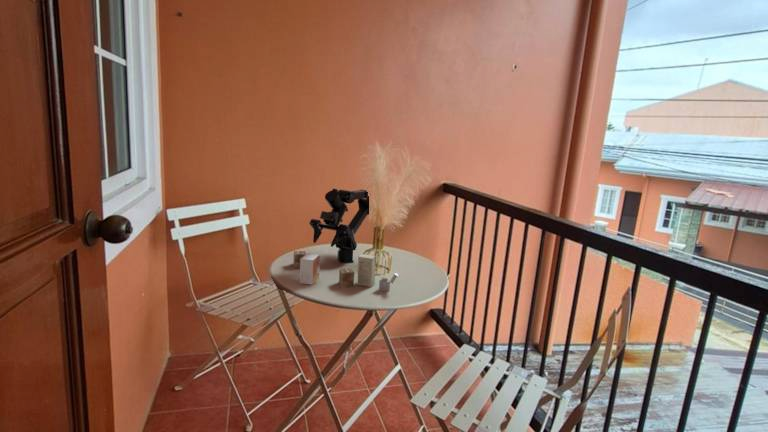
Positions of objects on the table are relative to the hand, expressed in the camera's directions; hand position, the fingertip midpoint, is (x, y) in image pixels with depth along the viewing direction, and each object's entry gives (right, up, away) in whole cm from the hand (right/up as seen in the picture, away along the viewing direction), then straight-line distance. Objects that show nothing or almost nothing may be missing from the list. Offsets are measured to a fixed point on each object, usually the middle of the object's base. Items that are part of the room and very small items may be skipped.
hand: (322, 244), depth 167 cm
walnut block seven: (-12, -10, +11) cm, 19 cm away
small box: (-5, -15, -5) cm, 16 cm away
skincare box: (+18, -16, -4) cm, 25 cm away
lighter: (+28, -18, -10) cm, 34 cm away
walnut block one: (+11, -16, -6) cm, 20 cm away
